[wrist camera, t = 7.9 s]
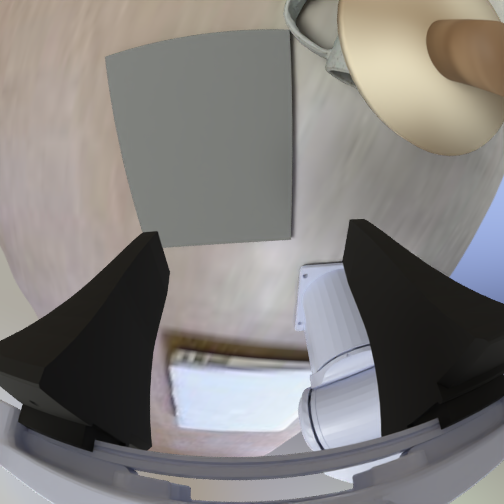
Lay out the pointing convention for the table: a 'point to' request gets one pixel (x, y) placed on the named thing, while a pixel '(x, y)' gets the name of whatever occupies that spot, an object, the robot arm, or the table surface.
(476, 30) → the lid
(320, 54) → the ceramic mug
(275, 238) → the mat
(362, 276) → the robot arm
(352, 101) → the table surface
